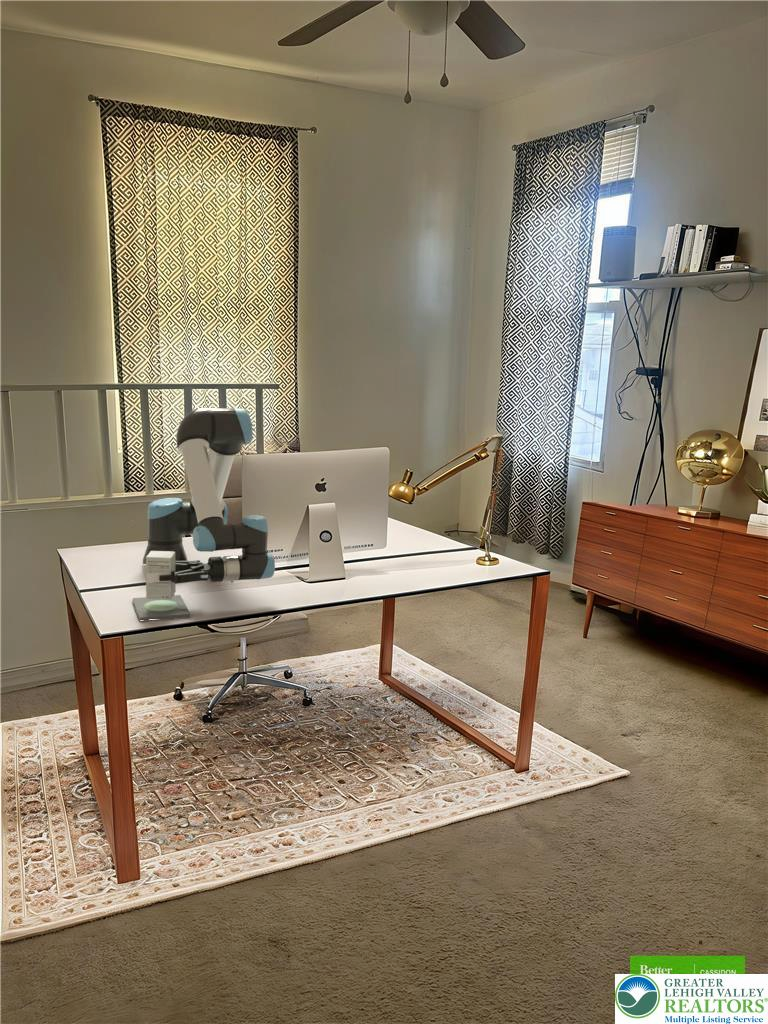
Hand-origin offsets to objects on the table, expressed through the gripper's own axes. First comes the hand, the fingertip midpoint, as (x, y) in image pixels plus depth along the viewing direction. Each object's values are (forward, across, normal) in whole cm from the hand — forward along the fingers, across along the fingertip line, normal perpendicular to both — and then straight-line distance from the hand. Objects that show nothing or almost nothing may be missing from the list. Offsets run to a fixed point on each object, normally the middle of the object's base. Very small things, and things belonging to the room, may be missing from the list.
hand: (144, 573), depth 229 cm
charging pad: (-5, 0, -11) cm, 12 cm away
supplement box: (-5, 0, -7) cm, 9 cm away
